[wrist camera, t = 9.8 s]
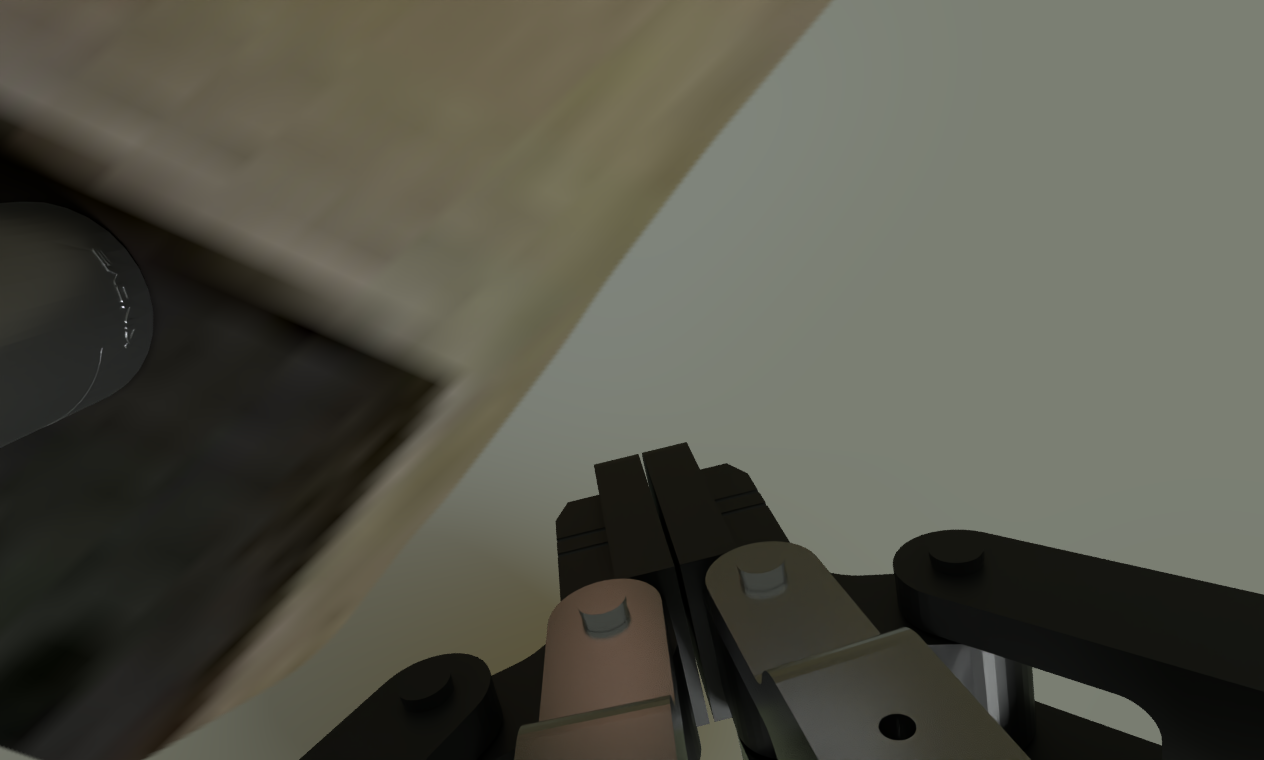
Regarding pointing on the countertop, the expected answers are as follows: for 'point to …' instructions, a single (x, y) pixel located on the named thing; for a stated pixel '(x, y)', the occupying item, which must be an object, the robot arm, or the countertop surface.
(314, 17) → the countertop surface
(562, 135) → the countertop surface
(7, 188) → the countertop surface
